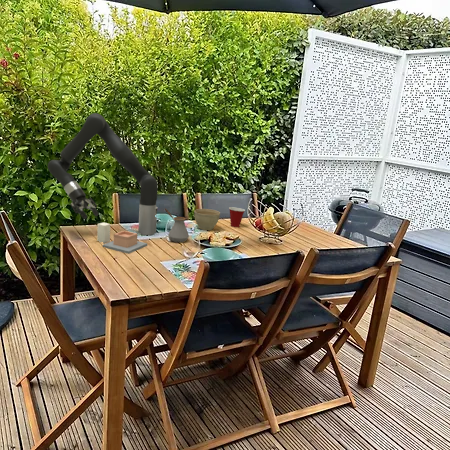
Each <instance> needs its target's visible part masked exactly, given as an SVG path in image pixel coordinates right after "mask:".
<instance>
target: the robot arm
mask: <svg viewBox="0 0 450 450" xmlns="http://www.w3.org/2000/svg"><path fill="white" fill-rule="evenodd" d="M96 135H98V137H100V138H101V139H102V141H103V142H104V143H105V146H106V147H107V149H108V150H109V152H110V153H111V155H112V156H113V158H114V159H115V160H116V161H117V162H118V164H119V165H121V167H123V168H124V169H125V170H126V171H127V172H129V174H131V175H132V176H133V177H134V180H136V182H137V183H138V185H139V186H140V195H139V197H140V198H139V206H138V208H139V209H138V211H139V213H138V233H137V234H139V235H143V236H152V235H155V234H157V221H158V220H157V214H156V207H157V199H158V190H159V189H158V187H159V186H158V181H157V179H156V178H155V177H154V176H153V175H151V173H149V172H148V171H147V170H146V169H145V167H143V165H142V164H141V162H140V161H139V159H138V158H137V157H136V154H135V153H134V152H133V151H132V150H131V149H130V147H129V146H128V145H127V144H126V143H125V142H124V141H123V140H122V139H121V138H120V137H119V136H118V135H117V134H116V133H115V132H114V130H113V129H112V127H111V126H110V125H109V123H108V122H107V120H106V119H105V117H104V116H103V115H101V114H99V113H96V112H95V113H91V114H89V116H87V118H86V119H85V122H84V124H83V126H82V127H81V129H80V130H79V132H78V133H77V134H76V135H75V136H74V137H73V138H72V139H71V141H69V142H68V143H67V144H66V145H65V147H64V148H63V149H62V151H60V154H59V155H60V159H59V160H58V159H51V160H49V161H48V163H47V169H48V171H49V173H50V174H51V176H53V177H54V178H55V179H56V180H57V181H58V182H59V183H60V185H61V186H62V187H63V189H64V191H65V192H66V194H67V196H68V198H69V199H70V200H71V203H70V206H71V208H72V210H73V211H74V213H75V214H79V215H80V216H81V218H82V219H83V220H86V219H87V218H88V216H87V213H86V212H85V211H84V209H88V210H90V211H91V212H92V214H93V215H94V217H97V216H98V215H99V211H98V210H97V208H98V205H97V203H96V202H95V200H93V198H92V197H90V198H87V197H86V193H85V192H84V190H83V189H82V188H81V186H80V184H78V182H77V181H76V180H75V178H74V177H73V175H72V174H71V173H69V172H67V171H68V170H69V168H70V167H71V165H72V163H73V161H74V160H75V158H76V157H77V156H78V155H79V154H80V153H81V151H83V149H84V147H85V146H86V144H88V143H89V142H90V140H91V139H93V137H95V136H96ZM155 215H156V217H155Z"/></svg>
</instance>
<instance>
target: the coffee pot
mask: <svg viewBox="0 0 450 450" xmlns="http://www.w3.org/2000/svg"><path fill="white" fill-rule="evenodd" d="M162 211H165V212H166V213H167V215H168V216H169V217H170V218H171V219H172V220H173V221H174V222H173V225H172V226H171V229H170V230H169V233H168V238H169V239H170V240H171V241H172V242H175V243H185V242H186V241H187V240H188V239H189V237H190V235H189V232H188V229H187V226H186V224H185V220H186V219H187V218H186V217H184V216H173V215H172V213H171V212H170V211H169V210H168V209H167V208H166V207H165V208H164V209H162ZM184 241H185V242H184Z"/></svg>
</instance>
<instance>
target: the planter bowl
mask: <svg viewBox="0 0 450 450" xmlns="http://www.w3.org/2000/svg"><path fill="white" fill-rule="evenodd" d="M193 213H194V220H195V223H196V224H197V226H198V227H197V228H198V229H200V230H203V231H212V230H214V229H215V227H216V225H217V224H218V223H219V219H220V216H221V212H220V211H218V210H216V209H210V208H198V209H195V210H194V212H193Z"/></svg>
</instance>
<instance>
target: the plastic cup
mask: <svg viewBox="0 0 450 450" xmlns="http://www.w3.org/2000/svg"><path fill="white" fill-rule="evenodd" d="M228 209H229V217H230V218H229V219H230V226H231V227H233V228H239V227H240V226H241V222H242V220H243V216H244V213H245V212H246V209H244V208H240V207H233V206H231V207H230V206H229V207H228Z"/></svg>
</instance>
